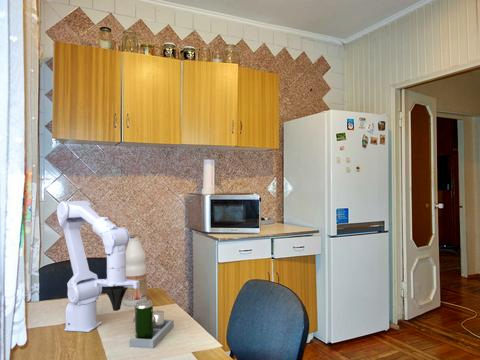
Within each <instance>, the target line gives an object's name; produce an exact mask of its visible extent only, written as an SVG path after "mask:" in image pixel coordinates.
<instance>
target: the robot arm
mask: <svg viewBox="0 0 480 360" xmlns="http://www.w3.org/2000/svg"><path fill="white" fill-rule="evenodd" d="M56 216H57V220H58V223H59V227H60V228H62V231H63V235H64V239H65V242H66V248H67V252H68V257H69V261H70V266H71V270H72V273H73V275H72V277H71V278H70V279H69V280H68V282H67V283H66V284H67V285H66V286H67V298H68V300H69V302H68V303H67V305H66V308H65V328H64V330H63V331H65V332H67V331H69V332H85V333H90V332H92V331H93V330H95V329H96V328H97V327H99V326H101V325H102V324H103V322H102V321H97V320H98V317H97V315H98V313H97V300H99V297H100V296H101V295H102V293H103V292H102V291H103V287H105V288H106V287H107V288H106V289H105V294H106V295H107V297H108V298H109V300H110V304H111V307H112V311H114V312H118V311H120V310H121V307H122V302H123V297H124V294H125V292H126V290H127V288H135V289H137V288H138V287H139V281H135V280H129V279H126V248H127V245H128V243H129V240H130V236H129V235H130V232H129V230H128V229H127V228H126V227H118V226H117V225H116V224H114V222H112V221H111V220H109V217H107V216H100V215H99V214H98V213H97V212H96V211H95V210H94V209H93V206H92V203H91V202H90V201H89V200H86V199H85V200H71V201H70V200H69V201H65V200H64V201H63V200H62V201H61V202H59V203H58V205H57V209H56ZM86 222H87V223H89V224H90V225H91V227H92V231H93V232H94V233H95V234H96V235H97V236H99V237H100V238H101V239H102V244H103V246H104V252H105V254H106V278H103V279H102V278H98V274H97V273H94V272H93V271H91V270H90V268H89V263H88V259H87V255H86V252H85V247H84V242H83V239H82V233H81V229H80V228H81V227H82V226H83V225H85V223H86Z"/></svg>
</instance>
